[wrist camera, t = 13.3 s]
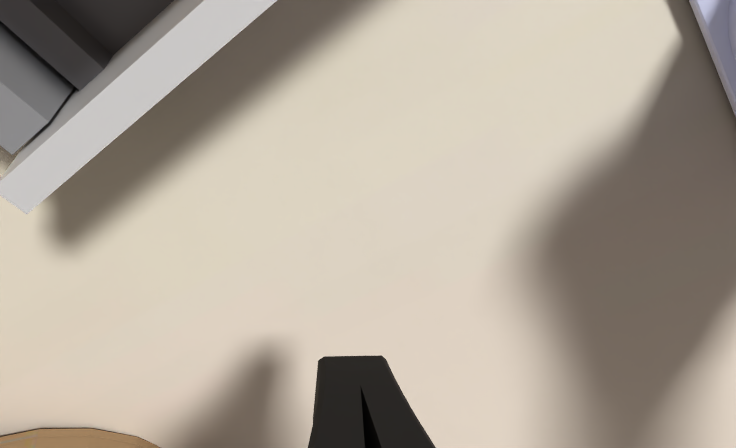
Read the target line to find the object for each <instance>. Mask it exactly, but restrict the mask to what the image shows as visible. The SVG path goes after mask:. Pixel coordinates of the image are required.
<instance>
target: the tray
mask: <svg viewBox="0 0 736 448" xmlns="http://www.w3.org/2000/svg"><path fill="white" fill-rule="evenodd" d="M276 1H277V0H0V21H1V22H2V23H4V24H5V25H6V26H7V27H8V28H9V29H10V30H11V31H13V32H14V33H15V34H16V35H17V36H18V37H19V38H21V39H22V40H23V41H24V42H25V43H26V44H27V45H29V46H30V47H31V48H32V49H33V50H34V51H35V52H36V53H38V54H39V55H40V56H41V57H42V58H43V59H44V60H46V61H47V62H48V63H49V64H50V65H51V66H52V67H54V68H55V69H56V70H57V71H58V72H59V73H60V74H61V75H63V76H64V77H65V78H66V79H67V80H68V81H69V82H71V83H72V84H73V85H74V86H75V87H74V88H73V89H72V91H71V92H70V94H69V95H68V96H67V98H66V99H65V101H64V102H63V103H62V105H61V106H60V107H59V109H58V110H57V112H56V113H55V114H54V116H53V117H52V119H51V120H50V121H49V122H48V123H47V124H46V125H45V126H44V127H43V128H42V129H41V130H40V131H38V132H37V133H36V134H35V135H34V136H33V137H32V138H31V139H29V140H28V141H27V143H26V144H25V145H24V147H23V148H22V149H21V151H20V152H19V153H18V155H17V156H16V157H15V159H14V160H13V161H12V163H11V164H10V165H9V167H8V168H7V169H6V171H5V172H4V173H3V175H2V176H1V177H0V196H2V197H3V198H5V199H6V200H7V201H9V202H10V203H12V204H13V205H14V206H16V207H17V208H18V209H20V210H21V211H23V212H24V213H25V214H28V213H29V212H30V211H31V210H33V209H34V208H35V207H36V206H37V205H38V204H40V203H41V202H42V201H43V200H44V199H45V198H47V197H48V196H49V195H50V194H51V193H53V192H54V191H55V190H56V189H57V188H58V187H60V186H61V185H62V184H63V183H64V182H65V181H67V180H68V179H69V178H70V177H71V176H72V175H74V174H75V173H76V172H77V171H78V170H79V169H81V168H82V167H83V166H84V165H85V164H86V163H88V162H89V161H90V160H91V159H92V158H93V157H95V156H96V155H97V154H98V153H99V152H100V151H102V150H103V149H104V148H105V147H106V146H107V145H109V144H110V143H111V142H112V141H113V140H114V139H116V138H117V137H118V136H119V135H120V134H122V133H123V132H124V131H125V130H126V129H127V128H129V127H130V126H131V125H132V124H133V123H134V122H136V121H137V120H138V119H139V118H140V117H141V116H143V115H144V114H145V113H146V112H147V111H148V110H150V109H151V108H152V107H153V106H154V105H155V104H157V103H158V102H159V101H160V100H161V99H162V98H164V97H165V96H166V95H167V94H168V93H169V92H171V91H172V90H173V89H174V88H175V87H176V86H178V85H179V84H180V83H181V82H182V81H183V80H185V79H186V78H187V77H188V76H189V75H190V74H192V73H193V72H194V71H195V70H196V69H198V68H199V67H200V66H201V65H202V64H203V63H205V62H206V61H207V60H208V59H209V58H210V57H212V56H213V55H214V54H215V53H216V52H217V51H219V50H220V49H221V48H222V47H223V46H224V45H226V44H227V43H228V42H229V41H230V40H231V39H233V38H234V37H235V36H236V35H237V34H238V33H240V32H241V31H242V30H243V29H244V28H245V27H247V26H248V25H249V24H250V23H251V22H252V21H254V20H255V19H256V18H257V17H258V16H259V15H261V14H262V13H263V12H264V11H265V10H267V9H268V8H269V7H270V6H271V5H272V4H274V3H275V2H276Z"/></svg>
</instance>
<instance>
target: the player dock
mask: <svg viewBox="0 0 736 448" xmlns="http://www.w3.org/2000/svg"><path fill="white" fill-rule="evenodd" d="M74 87H75V86H74V85H73V84H72V83H71V82H69V81H68V80H67V79H66V78H65V77H64V76H63V75H61V74H60V73H59V72H58V71H57V70H56V69H55V68H54V67H52V66H51V65H50V64H49V63H48V62H47V61H46V60H44V59H43V58H42V57H41V56H40V55H39V54H38V53H36V52H35V51H34V50H33V49H32V48H31V47H30V46H29V45H27V44H26V43H25V42H24V41H23V40H22V39H21V38H19V37H18V36H17V35H16V34H15V33H14V32H13V31H11V30H10V29H9V28H8V27H7V26H6V25H5V24H4V23H2V22H1V21H0V146H1V147H3V148H4V149H5V150H6V151H8V152H9V153H10V154H12V155H13V154H14V153H15V152H16V151H17V150H18V149H19V148H21V147H22V146H23V145H24V144H25V143H26V142H27V141H28V140H29V139H31V138H32V137H33V136H34V135H35V134H36V133H37V132H38V131H40V130H41V129H42V128H43V127H44V126H45V125H46V124H47V123H48V122H49V121H50V120H51V119H52V117H53V116H54V114H55V113H56V112H57V110H58V109H59V107H60V106H61V105H62V103H63V102H64V101H65V99H66V98H67V96H68V95H69V94H70V92H71V91H72V89H73V88H74Z"/></svg>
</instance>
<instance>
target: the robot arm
mask: <svg viewBox="0 0 736 448" xmlns="http://www.w3.org/2000/svg"><path fill="white" fill-rule="evenodd" d="M689 2H690V4H691V7H692V9H693V12H694V14H695V17H696V19H697V22H698V24H699V27H700V29H701V32H702V34H703V37H704V39H705V42H706V44H707V47H708V49H709V52H710V54H711V57H712V59H713V62H714V64H715V67H716V69H717V72H718V74H719V77H720V79H721V82H722V84H723V87H724V89H725V92H726V94H727V97H728V99H729V102H730V104H731V107H732V109H733V112H734V114H735V117H736V0H689ZM308 448H436V447H435V446H434V444H433V443H432V441H431V440H430V438H429V436H428V435H427V433H426V432H425V430H424V428H423V427H422V425H421V424H420V422H419V421H418V419H417V417H416V416H415V414H414V412H413V410H412V409H411V407H410V405H409V403H408V402H407V400H406V398H405V396H404V395H403V393H402V391H401V389H400V387H399V385H398V383H397V381H396V379H395V378H394V376H393V373H392V371H391V369H390V367H389V365H388V363H387V361H386V359H385V358H384V357H383V356H335V357H323V358H322V359H320V360H319V361H318V370H317V381H316V392H315V403H314V414H313V427H312V432H311V436H310V441H309V445H308Z"/></svg>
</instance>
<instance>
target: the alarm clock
mask: <svg viewBox="0 0 736 448" xmlns="http://www.w3.org/2000/svg"><path fill="white" fill-rule="evenodd" d="M0 448H160V447H158V446H157V445H155V444H152V443H150V442H148V441H146V440H143V439H141V438H139V437H135V436H130V435H124V434H119V433H113V432H108V431H102V430H97V429H38V430H33V431H28V432H23V433H18V434H13V435H8V436H3V437H0Z"/></svg>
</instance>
